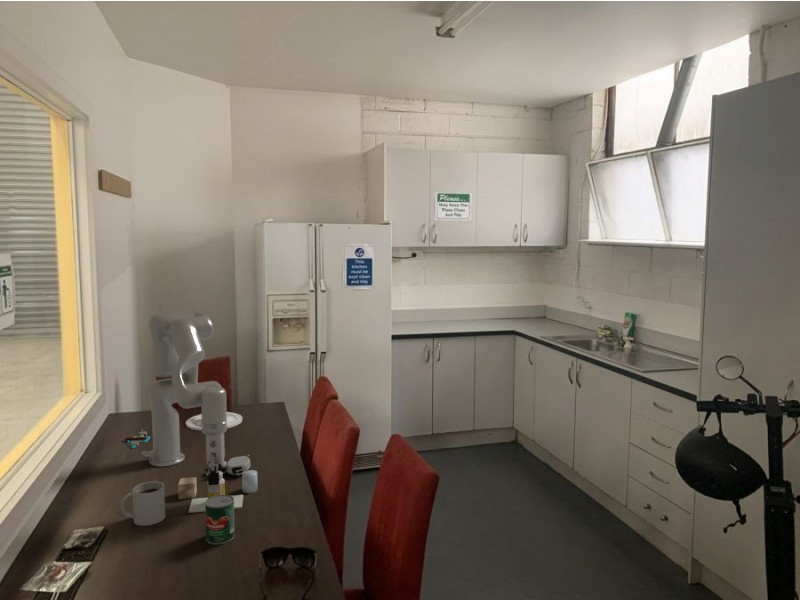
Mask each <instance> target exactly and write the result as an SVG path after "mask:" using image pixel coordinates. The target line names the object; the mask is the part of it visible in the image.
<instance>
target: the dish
mask: <svg viewBox="0 0 800 600" xmlns="http://www.w3.org/2000/svg"><path fill="white" fill-rule="evenodd" d="M242 422H243V416H242V415H241V414H240V413H239V414H238V413H236V412H230V411H227V429H230V428H234V427H236V426H238V425H239V424H241V423H242ZM185 426H186V427H187V428H188V429H190V430H195V431H201V432H202V413H200V414H197V415H193V416H192V417H190V418H188V419H186V421H185Z"/></svg>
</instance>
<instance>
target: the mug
mask: <svg viewBox="0 0 800 600" xmlns="http://www.w3.org/2000/svg"><path fill="white" fill-rule="evenodd" d="M129 497H132V512H133V513H129V512H128V511H126V509H125V501H126V500H127V498H129ZM165 501H166V499H165V484H164V482H160V481H146V482H142V483H139V484H137V485H135V486H133V488H132V490H131V491H130V492H128V493H127V494H125V495H124V497H123V498H122V500H121V504H120V509H121V513H122V514H123V515H124V516H125V517H126V518H130V519H133V523H134V524H135V525H136V526H139V527H141V526H143V527H145V526H147V527H148V526H152V525H156V524H158V523H160V522H162V521H164V519H165V518H166V502H165Z"/></svg>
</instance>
